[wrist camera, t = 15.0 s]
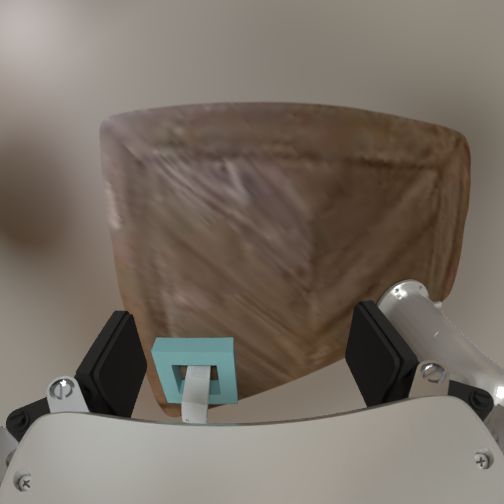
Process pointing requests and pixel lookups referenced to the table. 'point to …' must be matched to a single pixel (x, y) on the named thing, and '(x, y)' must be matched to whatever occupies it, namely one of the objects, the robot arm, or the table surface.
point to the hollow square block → (196, 353)
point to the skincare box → (196, 394)
